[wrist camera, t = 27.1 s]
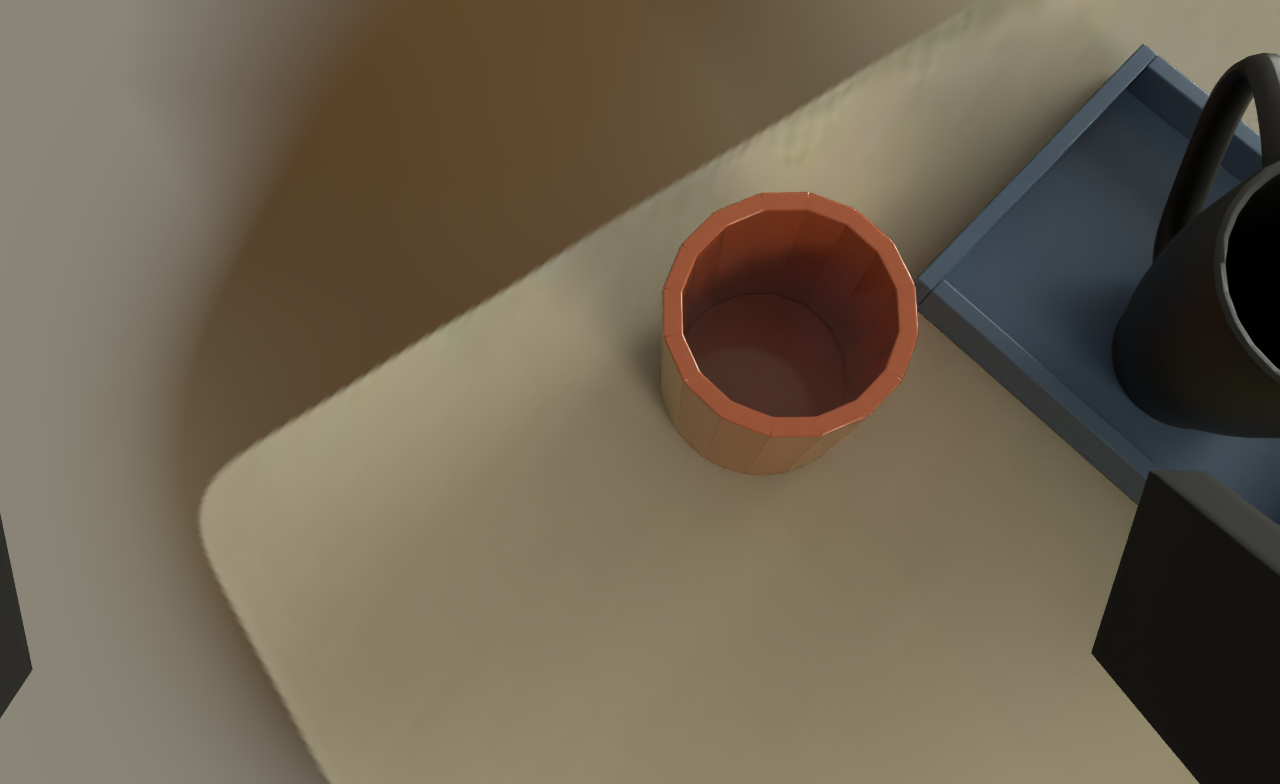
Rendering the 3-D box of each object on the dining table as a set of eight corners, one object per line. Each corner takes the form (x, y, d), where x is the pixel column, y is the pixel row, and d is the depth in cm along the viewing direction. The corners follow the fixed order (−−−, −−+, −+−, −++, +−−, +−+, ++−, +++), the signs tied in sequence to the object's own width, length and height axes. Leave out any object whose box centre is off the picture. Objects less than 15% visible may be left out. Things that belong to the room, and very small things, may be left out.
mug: (1243, 155, 39) (1425, 18, 30) (1317, 453, 37) (1540, 402, 28) (1038, 177, 39) (1157, 45, 30) (1098, 475, 37) (1248, 433, 28)
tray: (901, 296, 39) (917, 278, 37) (1117, 73, 41) (1143, 42, 39) (1238, 594, 36) (1277, 594, 34) (1451, 341, 38) (1501, 325, 36)
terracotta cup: (619, 379, 38) (609, 313, 30) (753, 246, 39) (782, 144, 31) (763, 516, 37) (798, 490, 28) (897, 375, 38) (970, 308, 29)
